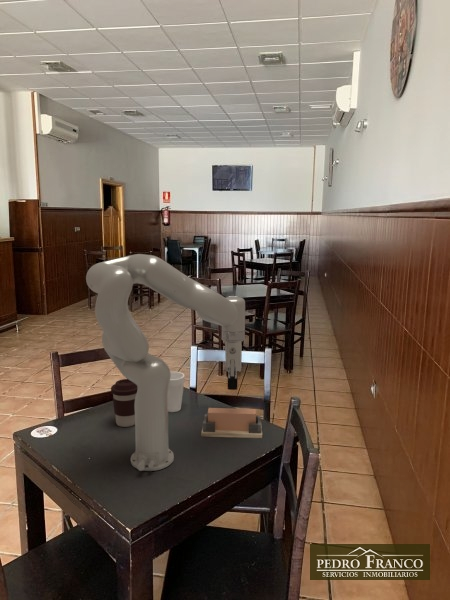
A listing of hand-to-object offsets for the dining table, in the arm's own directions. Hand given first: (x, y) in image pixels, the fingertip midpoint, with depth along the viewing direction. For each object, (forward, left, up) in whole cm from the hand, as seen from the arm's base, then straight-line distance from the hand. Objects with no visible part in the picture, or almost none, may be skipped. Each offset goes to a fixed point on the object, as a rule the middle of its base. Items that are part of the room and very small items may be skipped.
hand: (232, 388), depth 147 cm
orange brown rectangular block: (0, 0, -14) cm, 14 cm away
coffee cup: (+4, +37, -15) cm, 40 cm away
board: (0, 0, -15) cm, 15 cm away
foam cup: (+17, +23, -15) cm, 32 cm away
